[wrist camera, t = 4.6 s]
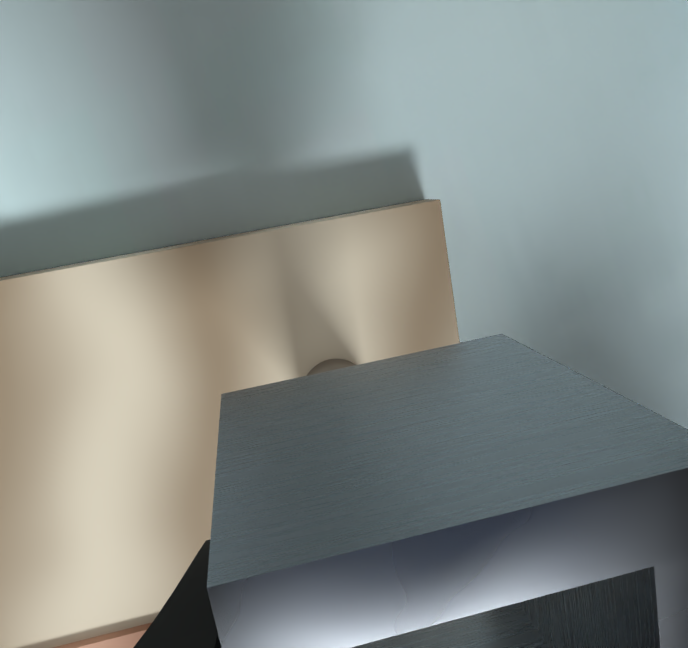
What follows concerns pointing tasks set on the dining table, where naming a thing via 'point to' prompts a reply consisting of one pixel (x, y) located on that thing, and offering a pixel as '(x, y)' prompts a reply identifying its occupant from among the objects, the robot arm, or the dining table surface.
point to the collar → (448, 508)
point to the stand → (175, 396)
